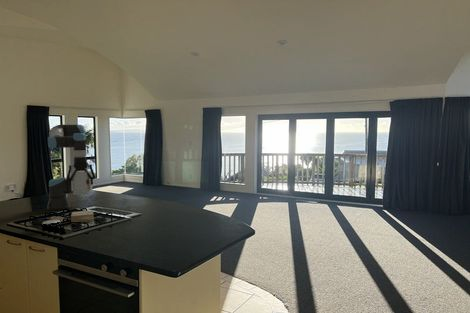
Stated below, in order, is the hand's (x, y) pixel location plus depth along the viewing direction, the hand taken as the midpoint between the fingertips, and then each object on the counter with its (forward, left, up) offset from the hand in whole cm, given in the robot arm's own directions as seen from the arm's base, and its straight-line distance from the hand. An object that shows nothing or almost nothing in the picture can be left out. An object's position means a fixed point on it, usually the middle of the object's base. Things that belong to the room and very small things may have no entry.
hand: (81, 190), depth 223 cm
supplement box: (-2, +1, -3) cm, 4 cm away
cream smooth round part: (+3, -18, -20) cm, 27 cm away
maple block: (0, 0, -20) cm, 20 cm away
